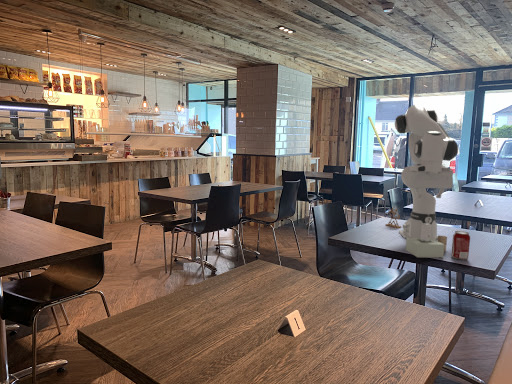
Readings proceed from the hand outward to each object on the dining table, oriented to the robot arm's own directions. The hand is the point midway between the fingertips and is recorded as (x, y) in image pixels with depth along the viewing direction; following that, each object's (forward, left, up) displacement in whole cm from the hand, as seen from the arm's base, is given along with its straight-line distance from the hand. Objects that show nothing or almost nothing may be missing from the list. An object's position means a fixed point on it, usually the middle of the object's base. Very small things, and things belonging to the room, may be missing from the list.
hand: (428, 197), depth 179 cm
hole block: (0, 0, -26) cm, 26 cm away
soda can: (+7, +13, -26) cm, 30 cm away
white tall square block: (0, 0, -26) cm, 26 cm away
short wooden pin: (-5, +11, -26) cm, 29 cm away
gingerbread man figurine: (-57, +9, -26) cm, 63 cm away
